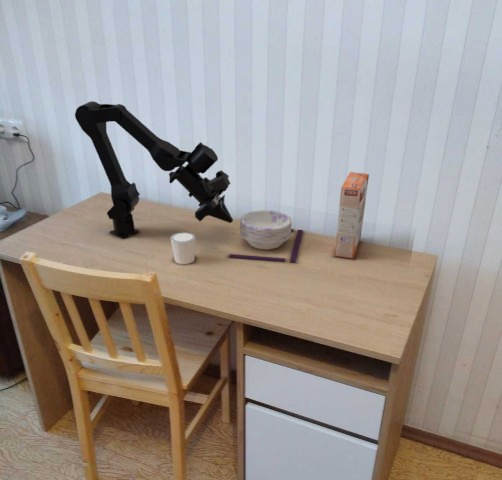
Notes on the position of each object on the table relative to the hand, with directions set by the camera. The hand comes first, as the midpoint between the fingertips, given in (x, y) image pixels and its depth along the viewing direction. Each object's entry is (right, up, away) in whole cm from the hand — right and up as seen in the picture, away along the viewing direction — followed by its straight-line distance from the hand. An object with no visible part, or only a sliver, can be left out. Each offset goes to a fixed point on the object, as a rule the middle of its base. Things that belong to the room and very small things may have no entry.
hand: (231, 221), depth 159 cm
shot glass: (-13, -12, -7) cm, 19 cm away
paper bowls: (+10, -6, +2) cm, 12 cm away
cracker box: (+35, -8, -1) cm, 35 cm away
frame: (+11, -6, +2) cm, 13 cm away
